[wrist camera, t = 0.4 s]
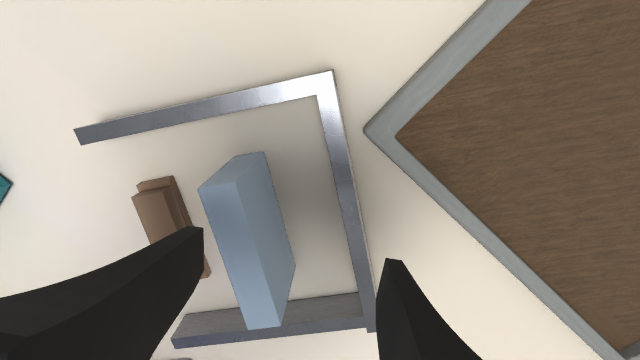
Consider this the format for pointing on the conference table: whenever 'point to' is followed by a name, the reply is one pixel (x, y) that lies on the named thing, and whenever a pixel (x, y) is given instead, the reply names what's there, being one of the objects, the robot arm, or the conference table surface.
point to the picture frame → (538, 152)
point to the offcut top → (158, 212)
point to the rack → (352, 306)
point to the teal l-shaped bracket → (3, 187)
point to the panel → (251, 237)
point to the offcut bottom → (171, 182)
